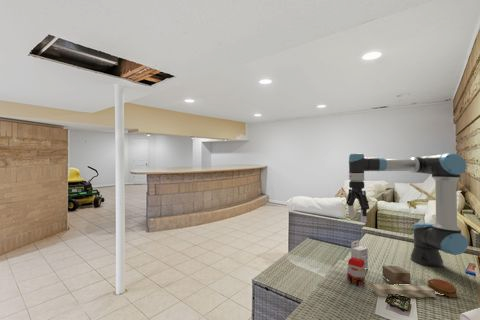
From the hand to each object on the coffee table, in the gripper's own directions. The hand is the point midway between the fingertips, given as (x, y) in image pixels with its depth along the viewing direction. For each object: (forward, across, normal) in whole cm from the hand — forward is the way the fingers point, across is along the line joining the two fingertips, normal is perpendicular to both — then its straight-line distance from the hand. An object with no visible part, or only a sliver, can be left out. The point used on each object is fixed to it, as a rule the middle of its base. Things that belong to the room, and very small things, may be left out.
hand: (357, 219), depth 123 cm
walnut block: (+27, +13, +12) cm, 32 cm away
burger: (+27, +22, +26) cm, 44 cm away
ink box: (+27, 0, +1) cm, 27 cm away
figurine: (+27, +14, -8) cm, 32 cm away
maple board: (+27, +25, +7) cm, 37 cm away
